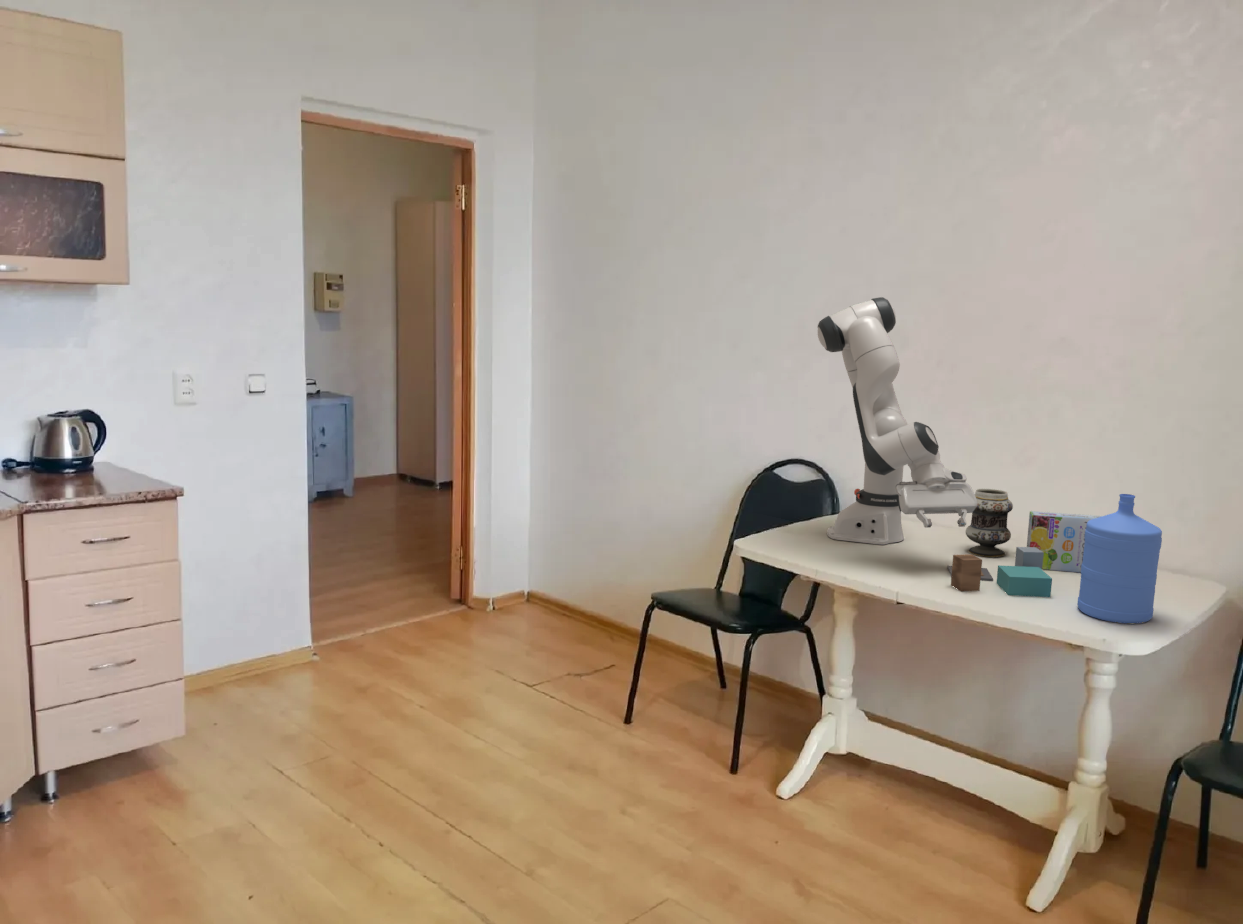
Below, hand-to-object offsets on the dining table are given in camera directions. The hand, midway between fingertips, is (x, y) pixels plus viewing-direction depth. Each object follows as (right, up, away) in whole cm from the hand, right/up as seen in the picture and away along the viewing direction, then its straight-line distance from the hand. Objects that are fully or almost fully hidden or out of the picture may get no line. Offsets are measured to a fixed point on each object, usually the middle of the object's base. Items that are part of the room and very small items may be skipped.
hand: (945, 526), depth 248 cm
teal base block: (+16, -16, -9) cm, 24 cm away
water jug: (+30, -19, -25) cm, 44 cm away
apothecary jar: (+20, -10, +26) cm, 34 cm away
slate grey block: (+21, -14, 0) cm, 25 cm away
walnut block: (+2, -15, -8) cm, 17 cm away
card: (+8, -13, +4) cm, 16 cm away
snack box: (+36, -13, +10) cm, 40 cm away
